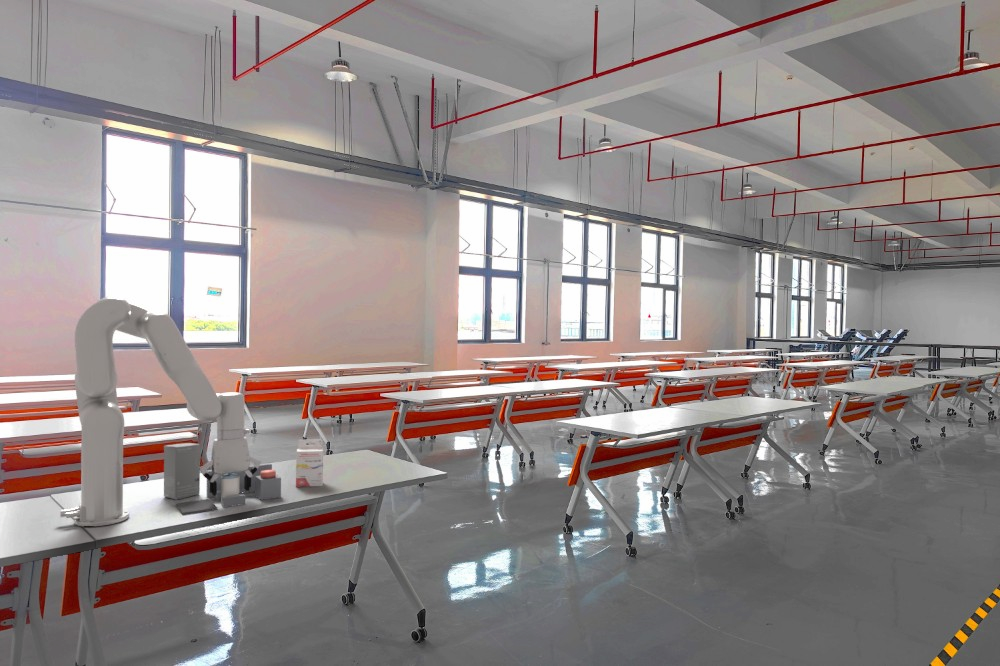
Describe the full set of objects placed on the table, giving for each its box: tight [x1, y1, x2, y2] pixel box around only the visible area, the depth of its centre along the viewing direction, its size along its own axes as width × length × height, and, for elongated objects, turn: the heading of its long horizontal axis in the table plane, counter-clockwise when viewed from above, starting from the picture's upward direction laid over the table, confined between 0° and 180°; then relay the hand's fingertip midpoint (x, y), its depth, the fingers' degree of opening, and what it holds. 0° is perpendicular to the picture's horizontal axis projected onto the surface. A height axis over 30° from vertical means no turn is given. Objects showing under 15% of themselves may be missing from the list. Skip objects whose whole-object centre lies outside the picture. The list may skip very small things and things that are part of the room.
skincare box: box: [163, 442, 201, 501], centre depth 198 cm, size 8×7×16 cm
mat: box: [175, 498, 218, 516], centre depth 186 cm, size 9×11×1 cm
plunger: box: [261, 469, 277, 479], centre depth 199 cm, size 4×4×6 cm
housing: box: [206, 462, 282, 508], centre depth 197 cm, size 19×15×8 cm
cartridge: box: [220, 473, 240, 504], centre depth 192 cm, size 5×5×8 cm
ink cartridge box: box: [295, 438, 324, 488], centre depth 213 cm, size 9×5×15 cm, turn 105°
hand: (230, 492), depth 192 cm, fingers open, 8 cm apart
